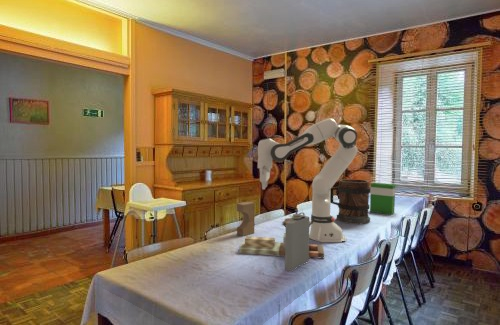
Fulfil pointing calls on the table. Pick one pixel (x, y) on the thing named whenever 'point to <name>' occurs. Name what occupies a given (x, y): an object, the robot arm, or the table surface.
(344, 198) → the wooden tankard
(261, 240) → the birch bar
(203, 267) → the table surface
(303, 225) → the flask
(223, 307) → the table surface
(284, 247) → the tunnel
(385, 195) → the hardback book
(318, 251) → the track deck
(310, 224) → the plant
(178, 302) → the table surface
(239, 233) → the decorative block
